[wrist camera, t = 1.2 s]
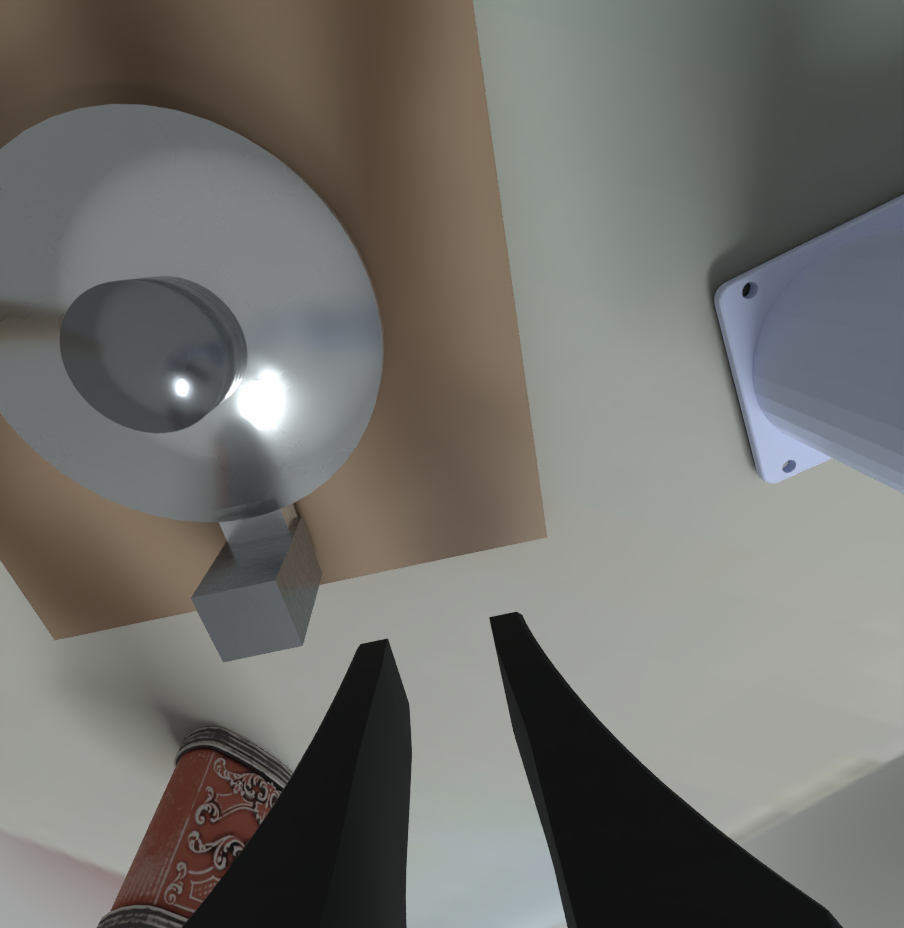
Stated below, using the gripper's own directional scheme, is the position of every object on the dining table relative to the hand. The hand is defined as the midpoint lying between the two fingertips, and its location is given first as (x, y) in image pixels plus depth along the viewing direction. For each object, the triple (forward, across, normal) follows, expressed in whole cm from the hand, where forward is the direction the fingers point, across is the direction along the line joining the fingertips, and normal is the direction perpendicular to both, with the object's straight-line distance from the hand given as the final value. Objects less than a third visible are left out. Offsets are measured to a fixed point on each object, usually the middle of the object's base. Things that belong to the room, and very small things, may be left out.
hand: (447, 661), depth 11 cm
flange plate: (+7, +6, -6) cm, 11 cm away
